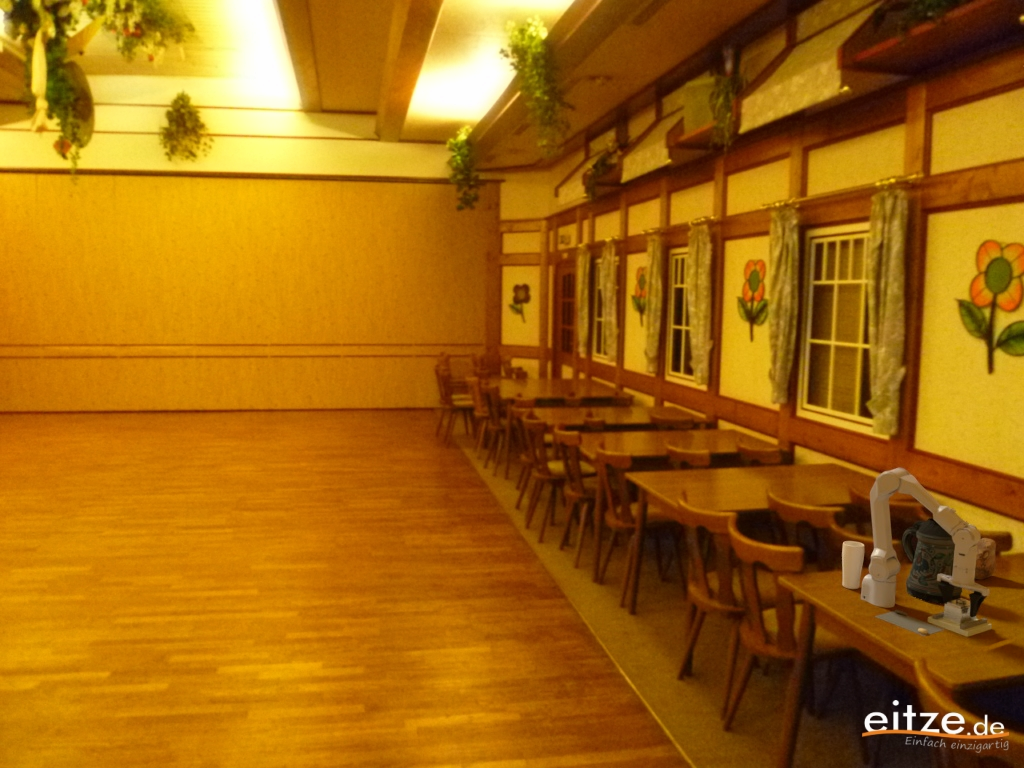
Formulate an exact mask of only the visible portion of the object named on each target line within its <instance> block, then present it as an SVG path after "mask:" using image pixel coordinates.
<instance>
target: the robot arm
mask: <svg viewBox="0 0 1024 768" xmlns="http://www.w3.org/2000/svg"><path fill="white" fill-rule="evenodd" d="M896 492H897V493H899V494H905V495H910V496H911V497H913V498H914V499H915V500H917V501H918V502H919V503H920V504H921V505H923V507H924V508H926V509H927V510H928V511H930V512H931V513H932V518H933V519H934V520H935V521H936V522H937V523H938V524H939V525H940V526H941V527H942V528H943V529H944V530H945V531H947V532H948V533H949V534H950V535H951V536H952V540H953V542H954V544H955V550H954V561H953V572H952V576H949V575H945V574H938V575H937V581H941V582H940V583H939V584H938V587H939V589H940V591H941V593H942V596H943V600H944V604H943V605H944V606H945V603H947V602H949V601H952V595H953V591H954V587H955V586H958V587H961V588H962V589H965V590H968V591H969V592H970V591H971V592H972V593H969V594H968V597H969V601H970V616H971V617H975V616H976V617H977V616H978V615H977V614H978V612H979V609H980V607H981V605H982V604H983V602H984V600H986V598H987V597H988V596H989V595H990V590H991V589H990V588H989V587H986V586H984V585H981V584H979V583H977V582H975V567H976V556H977V553H976V552H977V545H975V544H977V543H978V542H979V541H980V539H982V538H981V537H982V535H981V532H980V530H979V528H977V526H975V525H973V524H970V522H968V521H967V520H966V521H965V520H964V519H963V518H962V517H961V516H960V515H958V513H956V512H957V510H956V509H955V508H953V507H952V508H951V507H950V506H947V505H942V504H941V503H939V501H938V500H937V499H936V498H935V497H934V496H932V495H931V494H930V492H928V490H927V489H926V488H924V486H923V485H921V483H920V482H919V480H917V478H916V477H915V476H914V475H913V474H911V473H910V472H909V471H908V470H906V468H903V467H897V468H893V469H890V470H885V471H883V472H882V473H880V474H879V475H878V476H875V481H874V483H873V485H872V487H871V489H870V492H869V501H870V502H869V503H870V514H871V525H872V526H871V527H872V528H871V529H872V539H873V551H872V553H871V555H870V563H869V565H868V572H869V573H868V574H866V575H865V576H864V577H863V579H862V581H861V591H860V592H861V593H860V600H862V601H865V602H868V603H870V604H871V605H873V606H876V607H878V608H879V607H880V608H890V609H891V608H894V607H895V604H896V590H897V574H899V572H901V571H900V570H901V563H900V561H899V560H898V556H897V552H896V550H895V549H894V547H893V537H892V535H893V534H892V527H891V526H892V525H891V524H892V523H891V512H890V510H891V509H890V501H889V498H890V497H892V496H893V495H894V494H895V493H896Z"/></svg>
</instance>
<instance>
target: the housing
mask: <svg viewBox="0 0 1024 768" xmlns="http://www.w3.org/2000/svg"><path fill="white" fill-rule="evenodd" d="M943 609H944V610H943V612H944V619H943V620H945V621H948V622H951V623H953V624H956V625H959V626H960V625H963V624H966V623H970V622H973V621H976V619H977V615H976V616H975V617H971V616H970V599H969V600H968V599H965V598H962V597H960V598H957V599H956V600H953V601H949V602H947V603H945V605H944V607H943Z"/></svg>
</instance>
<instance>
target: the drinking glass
mask: <svg viewBox="0 0 1024 768" xmlns="http://www.w3.org/2000/svg"><path fill="white" fill-rule="evenodd" d="M841 551H842V552H841V557H842V558H841V560H842V561H841V564H842V567H841V569H842V575H841V576H842V579H841V580H842V582H841V585H842V586H843V587H844V588H845V589H850V590H857V589H859V588H860V582H861V576H862V571H863V563H864V557H865V544H864V543H862V542H859V541H854V540H846V541H843V543H842V550H841Z"/></svg>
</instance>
